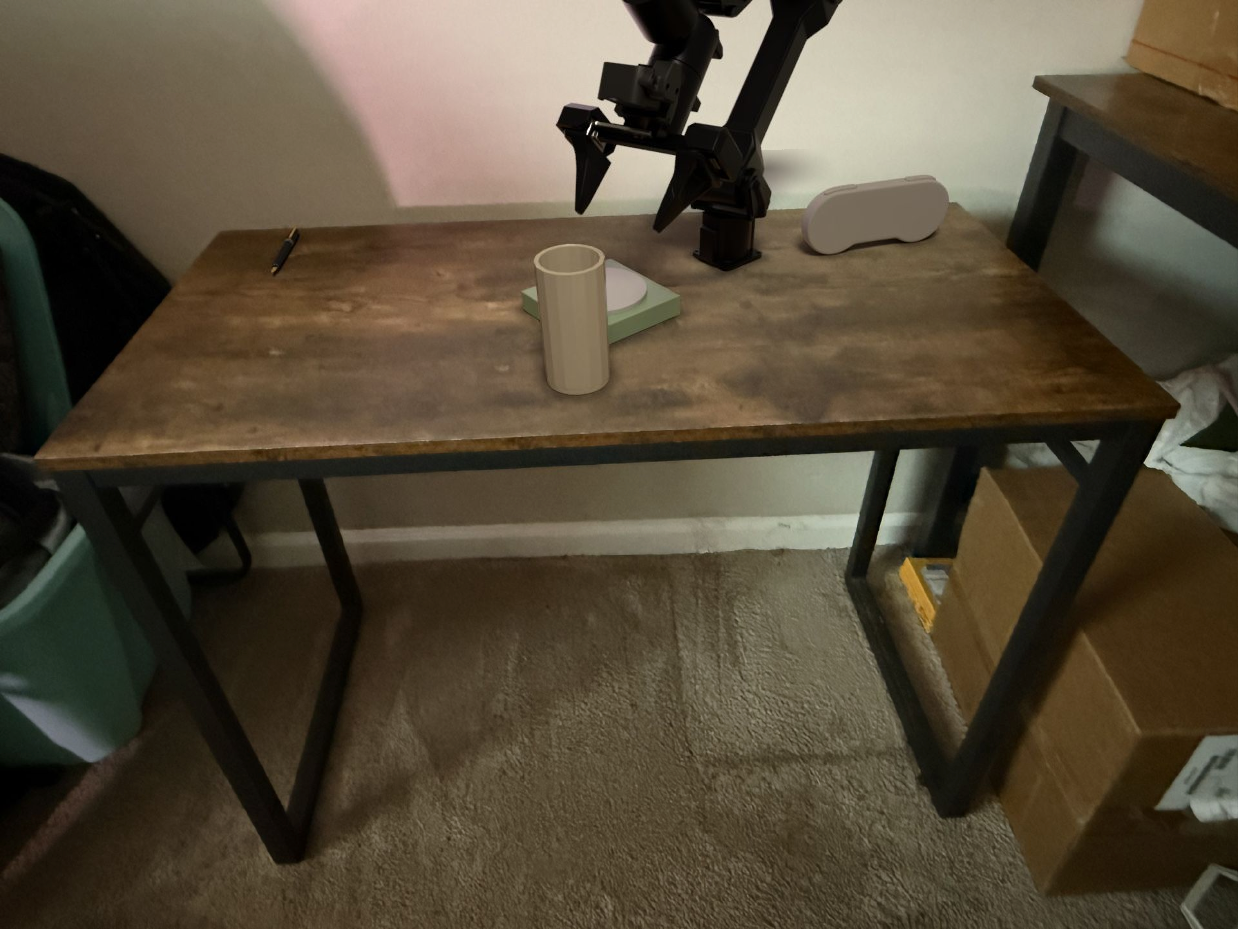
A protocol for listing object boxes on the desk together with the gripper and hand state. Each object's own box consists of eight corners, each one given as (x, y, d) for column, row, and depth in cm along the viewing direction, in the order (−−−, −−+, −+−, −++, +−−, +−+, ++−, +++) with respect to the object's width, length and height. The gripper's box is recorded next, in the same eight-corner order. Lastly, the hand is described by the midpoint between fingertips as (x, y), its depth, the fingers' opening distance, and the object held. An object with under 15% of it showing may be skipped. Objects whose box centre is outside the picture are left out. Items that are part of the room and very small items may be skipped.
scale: (611, 276, 100) (610, 253, 98) (680, 314, 92) (680, 290, 90) (523, 309, 94) (520, 286, 92) (588, 353, 86) (587, 329, 84)
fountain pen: (277, 278, 103) (274, 267, 102) (268, 278, 103) (264, 267, 102) (302, 232, 114) (299, 222, 113) (293, 233, 114) (290, 223, 113)
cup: (585, 353, 86) (577, 237, 78) (622, 379, 82) (618, 259, 74) (534, 375, 83) (520, 257, 75) (570, 402, 79) (560, 281, 71)
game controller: (932, 231, 107) (946, 168, 102) (942, 238, 105) (956, 174, 100) (796, 252, 104) (803, 187, 98) (804, 259, 102) (811, 194, 97)
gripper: (558, 12, 76) (498, 166, 76) (735, 29, 68) (667, 202, 68) (609, 81, 86) (555, 217, 86) (768, 104, 78) (709, 254, 78)
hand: (616, 221), depth 79 cm, fingers open, 9 cm apart
